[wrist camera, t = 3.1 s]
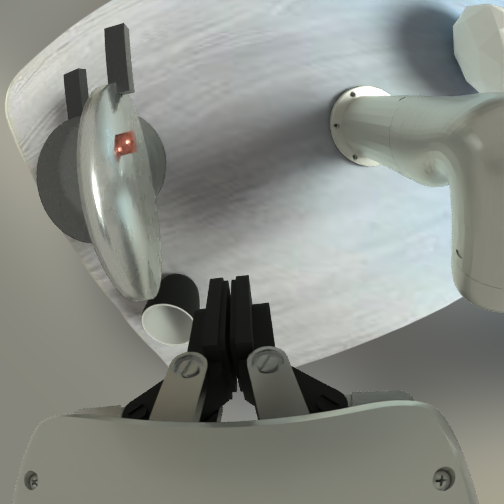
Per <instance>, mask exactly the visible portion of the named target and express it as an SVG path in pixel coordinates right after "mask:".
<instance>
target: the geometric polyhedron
mask: <svg viewBox="0 0 504 504" xmlns="http://www.w3.org/2000/svg"><path fill="white" fill-rule="evenodd" d="M453 39H454V55H455V57H456V59H457V61H458V63H459V66H460V68H461V70H462V72H463V75H464V77H465V79H466V81H467V82H468V83H469V84H470V85H471V86H472V87H474V88H475V89H476V90H477V91H478V92H479V93H486V92H504V8H502V7H499V6H495V5H491V4H481V5H474V6H467V7H466V8H465V9H464V11H463V12H462V14H461V15H460V17H459V18H458V20H457V21H456V23H455V24H454V25H453Z"/></svg>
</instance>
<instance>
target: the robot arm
mask: <svg viewBox="0 0 504 504" xmlns="http://www.w3.org/2000/svg"><path fill="white" fill-rule="evenodd" d="M350 93H351V94H352V96H350ZM334 124H336V127H334ZM330 130H331V135H332V138H333V141H334V143H335V145H336V146H337V148H338V149H339V151H340V152H341V153H342V154H343V155H344V156H345V157H347V158H348V159H349V160H351V161H353V162H354V163H357V164H359V165H363V166H378V165H384V166H386V167H388V168H390V169H392V170H394V171H396V172H398V173H400V174H402V175H403V176H405V177H407V178H409V179H411V180H413V181H415V182H417V183H419V184H422V185H424V186H428V187H443V186H447V185H449V186H450V197H451V209H452V255H451V268H452V276H453V281H454V283H455V286H456V288H457V290H458V291H459V292H460V294H461V295H462V296H463V297H464V298H465V299H466V300H467V301H469V302H470V303H472V304H473V305H475V306H477V307H480V308H482V309H486V310H490V311H495V312H504V92H486V93H477V94H469V95H460V96H410V95H389V94H388V93H387V92H385V91H383V90H381V89H379V88H377V87H372V86H359V87H355V88H352V89H349V90H348V91H346V92H344V93H343V94H342V95H341V96H340V97H339V98H338V99H337V101H336V102H335V104H334V106H333V109H332V111H331V116H330ZM353 155H354V157H352V156H353ZM237 378H238V383H239V387H240V391H241V392H242V391H243V393H244V397H245V400H246V401H248V402H249V403H251V404H252V405H254V406H255V410H256V414H257V418H258V420H254V421H240V422H239V421H238V422H221V418H222V413H223V405H224V404H225V403H226V402H228V401H229V399H232V392H236V391H237ZM12 504H479V503H478V499H477V495H476V491H475V488H474V484H473V482H472V478H471V475H470V472H469V469H468V466H467V463H466V460H465V457H464V455H463V452H462V450H461V447H460V445H459V443H458V440H457V438H456V436H455V434H454V432H453V430H452V428H451V426H450V425H449V423H448V421H447V420H446V418H445V417H444V416H443V414H442V413H441V412H440V411H439V410H438V409H436V408H435V407H434V406H432V405H430V404H427V403H423V402H418V401H414V399H413V397H412V396H411V395H410V394H409V393H407V392H405V391H401V390H393V391H374V392H352V394H351V395H344V394H342V393H341V392H339V391H338V390H336V389H334V388H332V387H330V386H327V385H326V384H324V383H322V382H320V381H318V380H316V379H314V378H313V377H311V376H309V375H307V374H305V373H303V372H301V371H300V370H298V369H296V368H294V367H292V366H291V365H290V362H289V359H288V357H287V355H286V353H285V352H284V351H282V350H281V349H279V348H277V347H275V343H274V336H273V328H272V321H271V314H270V307H269V303H262V304H252V298H251V290H250V282H249V275H245V276H236V280H232V281H231V294H230V288H229V283H228V281H224V280H223V278H215V279H210V283H209V290H208V297H207V304H206V309H196V310H195V312H194V317H193V322H192V328H191V334H190V339H189V345H188V351H187V352H186V353H182V354H180V355H178V356H176V357H175V358H174V359H173V360H172V362H171V363H170V366H169V368H168V371H167V373H166V376H165V378H164V380H162V381H161V382H159V383H158V384H156V385H155V386H153V387H152V388H151V389H149V390H148V391H147V392H145V393H143V394H142V395H140V396H139V397H137V398H136V399H134V400H133V401H131V402H130V403H129V404H128V405H126V407H122V406H121V405H117V406H107V407H97V408H84V409H79V410H78V411H76V412H75V413H72V414H61V415H56V416H52V417H49V418H47V419H45V420H43V421H42V422H40V424H39V425H38V426H37V427H36V429H35V430H34V432H33V434H32V436H31V439H30V441H29V443H28V446H27V448H26V451H25V454H24V457H23V460H22V463H21V466H20V470H19V474H18V478H17V482H16V487H15V491H14V496H13V501H12Z"/></svg>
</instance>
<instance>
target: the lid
mask: <svg viewBox="0 0 504 504" xmlns="http://www.w3.org/2000/svg"><path fill="white" fill-rule="evenodd" d="M104 31H105V51H106V64H107V75H108V85H105V86H102V87H99V88H96V89H95V90H94V91H93V92H92V93H91V94H90V96H89V97H88V99H87V101H86V103H85V105H84V108H83V111H82V115H81V118H80V124H79V130H78V139H77V175H78V184H79V193H80V198H81V204H82V209H83V213H84V217H85V221H86V225H87V228H88V232H89V235H90V238H91V241H92V243H93V246H94V249H95V251H96V254H97V256H98V258H99V260H100V262H101V265H102V267H103V269H104V270H105V272H106V274H107V276H108V277H109V279H110V281H111V282H112V283H113V285H114V286H115V287H116V289H117V290H118V291H119V292H120V293H121V294H122V295H123V296H124V297H125V298H127V299H129V300H130V301H134V302H137V301H143V300H149V299H153V298H155V297H156V295H157V293H158V291H159V288H160V282H161V270H162V258H161V240H160V229H159V220H158V212H157V205H156V198H155V191H154V190H156V189H155V184H154V179H153V174H152V169H151V163H150V158H149V152H148V147H146V145H145V140H144V136H143V132H142V129H141V125H140V122H139V118H138V115H137V112H136V109H135V107H134V104H133V102H132V99H131V98H130V96H129V94H130V93H134V83H133V74H132V64H131V53H130V39H129V29H128V28H127V26H126V25H125V24H124V23H122V24H119V25H115V26H112V27H109V28H106V29H104Z"/></svg>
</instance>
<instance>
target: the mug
mask: <svg viewBox="0 0 504 504" xmlns="http://www.w3.org/2000/svg"><path fill="white" fill-rule="evenodd" d="M196 309H200V304H199V293H198V289H197V287H196V285H195V283H194V282H193V281H192V280H191V279H190V278H189V277H187V276H185V275H181V274H173V275H170V276H167V277H166V278H164V279H163V280H162V281H161V282H160V288H159V291H158V293H157V295H156V297H155V298H153V299H149V300H148V302H147V304H146V306H145V308H144V310H143V313H142V317H141V323H142V326H143V329H144V330H145V332H146V333H147V334H148V335H149V336H150V337H151V338H152V339H154V340H155V341H157V342H159V343H162V344H165V345H169V346H180V345H185V344H187V343H189V339H190V334H191V328H192V322H193V317H194V312H195V310H196Z"/></svg>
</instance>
